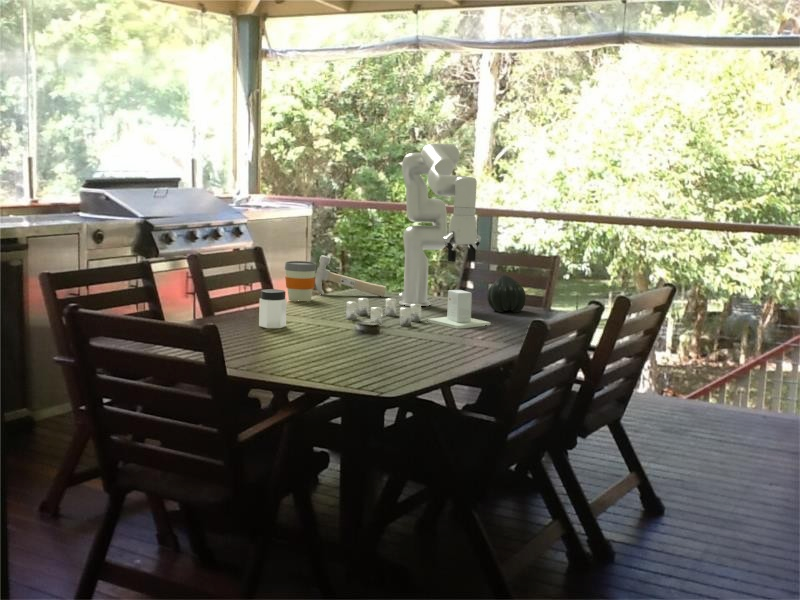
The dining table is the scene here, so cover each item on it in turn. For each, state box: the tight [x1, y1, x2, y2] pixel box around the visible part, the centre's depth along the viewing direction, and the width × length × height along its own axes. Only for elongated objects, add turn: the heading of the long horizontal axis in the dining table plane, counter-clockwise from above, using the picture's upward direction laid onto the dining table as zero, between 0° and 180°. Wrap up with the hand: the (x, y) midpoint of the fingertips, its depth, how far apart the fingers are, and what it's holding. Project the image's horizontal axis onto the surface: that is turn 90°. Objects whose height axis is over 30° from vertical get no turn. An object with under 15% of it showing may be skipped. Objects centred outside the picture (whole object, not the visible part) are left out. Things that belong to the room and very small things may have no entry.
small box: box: [446, 289, 473, 322], centre depth 322 cm, size 8×6×10 cm
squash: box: [486, 274, 527, 313], centre depth 356 cm, size 14×15×15 cm
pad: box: [426, 316, 491, 330], centre depth 323 cm, size 16×16×1 cm
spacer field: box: [345, 297, 422, 327], centre depth 324 cm, size 28×22×6 cm
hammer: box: [315, 255, 387, 298], centre depth 381 cm, size 16×5×30 cm
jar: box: [258, 288, 287, 329], centre depth 302 cm, size 9×8×12 cm
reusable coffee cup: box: [284, 260, 317, 302], centre depth 361 cm, size 13×13×15 cm
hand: (461, 260), depth 320 cm, fingers open, 9 cm apart
